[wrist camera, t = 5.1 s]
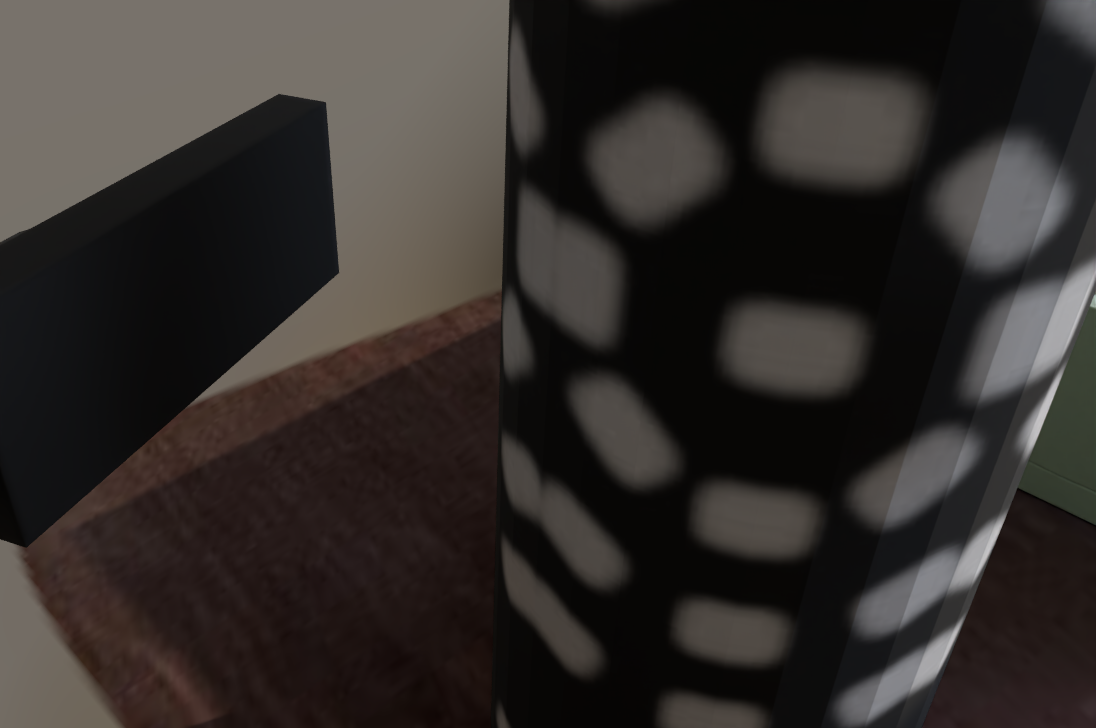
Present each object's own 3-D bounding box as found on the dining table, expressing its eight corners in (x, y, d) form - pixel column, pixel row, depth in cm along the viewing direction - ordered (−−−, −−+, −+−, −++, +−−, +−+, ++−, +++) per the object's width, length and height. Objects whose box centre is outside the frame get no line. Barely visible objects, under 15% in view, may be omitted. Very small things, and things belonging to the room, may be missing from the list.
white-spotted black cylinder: (873, 618, 24) (1219, -441, 13) (908, 977, 17) (1690, -605, 6) (535, 559, 25) (593, -463, 14) (442, 873, 18) (415, -623, 7)
